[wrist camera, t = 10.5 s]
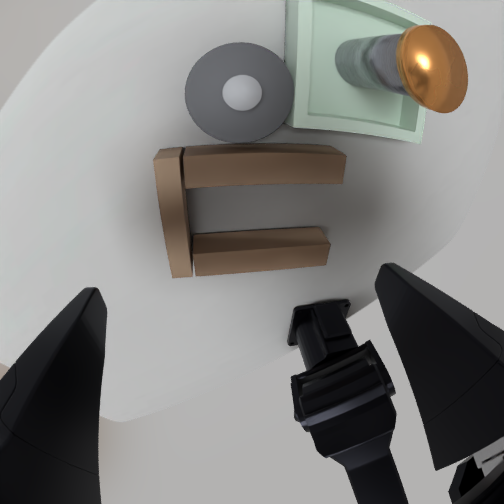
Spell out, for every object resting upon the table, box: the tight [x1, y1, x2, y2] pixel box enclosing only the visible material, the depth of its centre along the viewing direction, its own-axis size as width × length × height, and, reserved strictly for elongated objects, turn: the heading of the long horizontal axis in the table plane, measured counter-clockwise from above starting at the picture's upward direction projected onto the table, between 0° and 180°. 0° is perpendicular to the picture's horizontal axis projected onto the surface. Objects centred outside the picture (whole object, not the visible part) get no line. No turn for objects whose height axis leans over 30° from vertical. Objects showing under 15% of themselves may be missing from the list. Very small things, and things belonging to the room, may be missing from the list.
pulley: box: [185, 42, 294, 143], centre depth 13 cm, size 6×6×3 cm
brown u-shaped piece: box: [153, 143, 347, 278], centre depth 18 cm, size 9×12×2 cm
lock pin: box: [335, 25, 468, 113], centre depth 10 cm, size 4×4×8 cm
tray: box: [284, 0, 431, 144], centre depth 13 cm, size 10×10×3 cm
